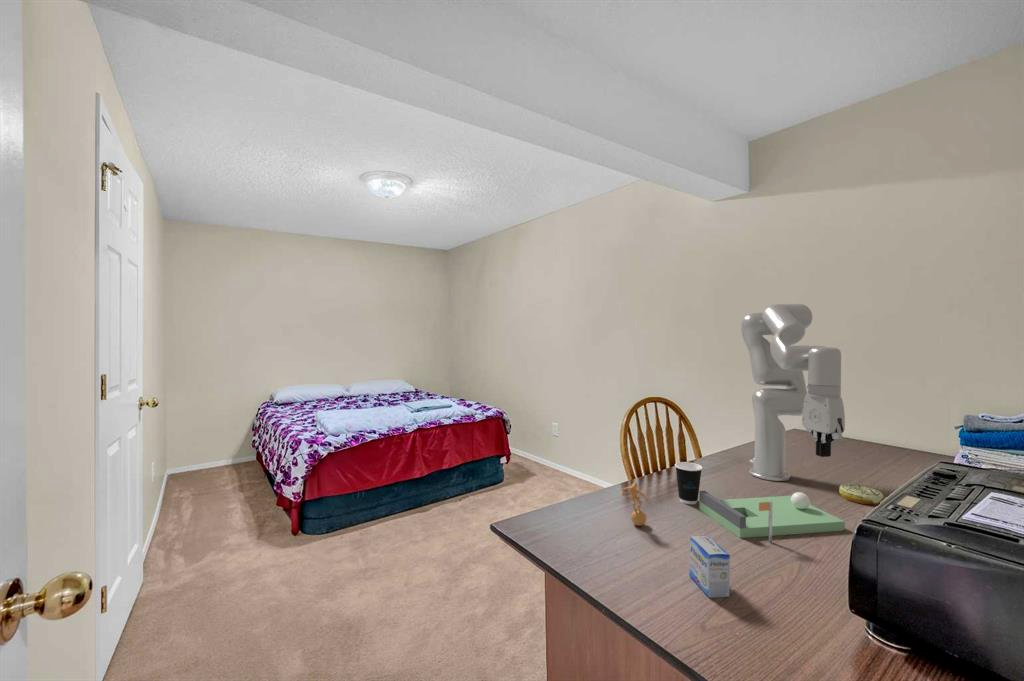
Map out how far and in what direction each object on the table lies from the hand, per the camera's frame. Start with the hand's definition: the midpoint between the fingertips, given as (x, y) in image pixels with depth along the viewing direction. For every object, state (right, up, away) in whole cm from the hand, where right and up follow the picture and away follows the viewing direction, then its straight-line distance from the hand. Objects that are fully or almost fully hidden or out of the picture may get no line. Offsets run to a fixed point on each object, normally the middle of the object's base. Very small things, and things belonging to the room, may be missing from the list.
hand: (823, 455), depth 122 cm
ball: (-7, -12, -1) cm, 14 cm away
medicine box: (-48, -18, -34) cm, 61 cm away
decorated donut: (+20, -17, +12) cm, 30 cm away
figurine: (-55, -17, -6) cm, 58 cm away
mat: (-17, -17, -2) cm, 24 cm away
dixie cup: (-34, -17, +11) cm, 39 cm away
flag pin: (-25, -17, -15) cm, 34 cm away
